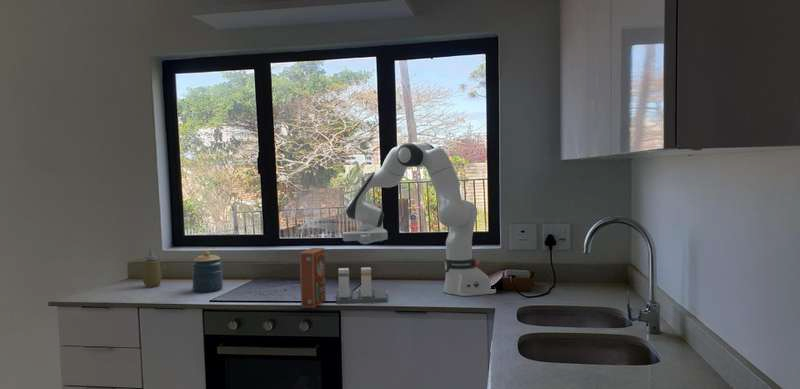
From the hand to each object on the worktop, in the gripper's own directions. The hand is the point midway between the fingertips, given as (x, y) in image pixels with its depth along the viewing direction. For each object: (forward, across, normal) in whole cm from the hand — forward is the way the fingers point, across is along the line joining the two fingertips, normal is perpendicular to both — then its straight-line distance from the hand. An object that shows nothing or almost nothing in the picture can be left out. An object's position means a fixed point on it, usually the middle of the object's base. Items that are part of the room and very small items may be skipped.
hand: (365, 237), depth 213 cm
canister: (-13, -72, +23) cm, 77 cm away
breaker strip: (+14, -2, +23) cm, 27 cm away
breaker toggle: (+17, 0, +21) cm, 28 cm away
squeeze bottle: (-24, -101, +22) cm, 107 cm away
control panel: (+20, -21, +24) cm, 37 cm away
